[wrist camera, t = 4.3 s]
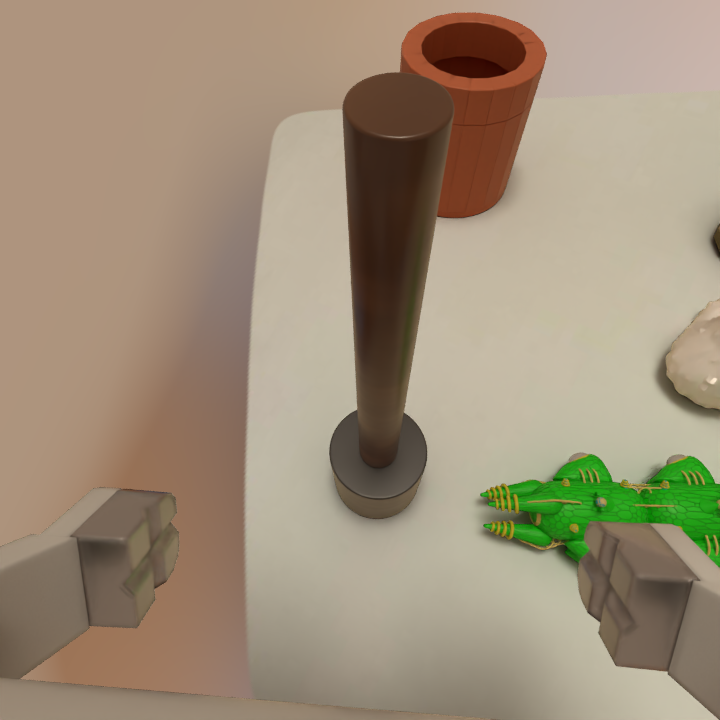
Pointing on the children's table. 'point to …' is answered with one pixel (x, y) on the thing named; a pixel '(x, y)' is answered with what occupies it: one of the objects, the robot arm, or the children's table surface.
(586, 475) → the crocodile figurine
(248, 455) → the children's table surface
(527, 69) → the terracotta flower pot
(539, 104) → the children's table surface
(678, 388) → the sitting furry creature
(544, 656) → the children's table surface
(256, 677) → the children's table surface
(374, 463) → the rod on round base
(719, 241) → the bottle
